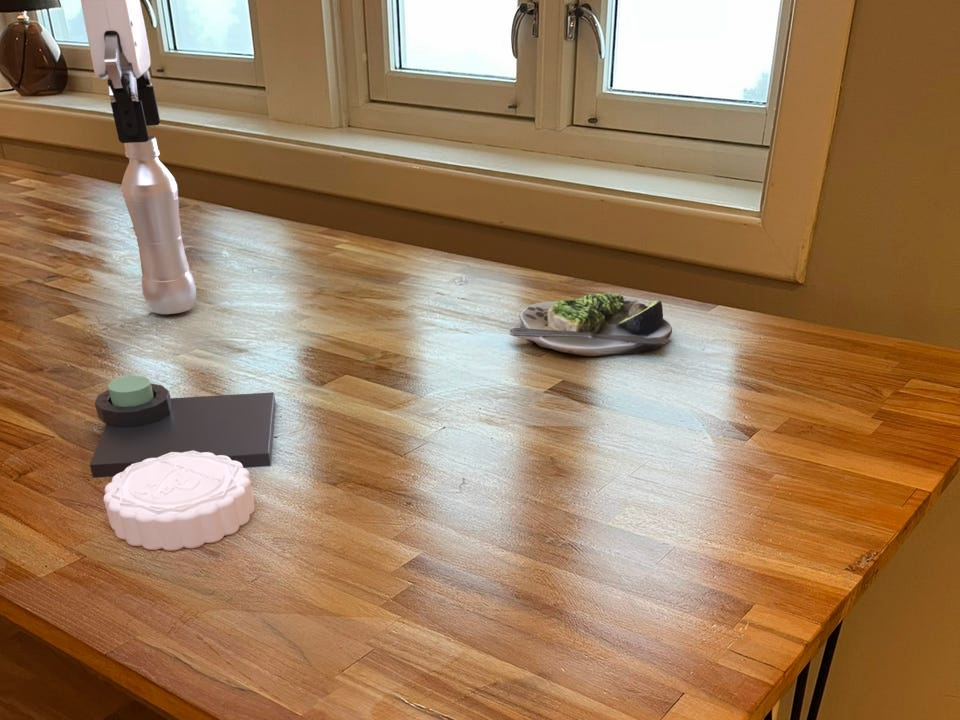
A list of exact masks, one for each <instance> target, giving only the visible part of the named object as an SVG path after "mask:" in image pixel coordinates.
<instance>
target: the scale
mask: <svg viewBox="0 0 960 720" xmlns="http://www.w3.org/2000/svg"><path fill="white" fill-rule="evenodd" d="M151 387H152V391H153V396H154V399H153V400H151V401H150V402H148V403H145V404H141V405H138V406H130V407H120V406H115V405H113V404H112V401H111V397H110V393H109V390H108V389H106V390H105V391H103V392H101V393H99V394H98V395H97V396H96V399H95V401H94V405H95V409H96V413H97V417H98V419H99V420H100V421H102V422H103V424H105V427H104V428H103V431H102V433H101V436H100V438H99V441H98V443H97V446H96V448H95V451H94V453H93V455H92V458H91V460H90V463H89V468H90V471H91V474H92V478H93V479H95V478H111V477H112V478H113V477H114V476H115V475H116V474H118V473H120V472H123V471H124V470H125V469H126V468H127V467H128V466H131V464H134V463H139V462H142V461H143V460H145V459H148V458H158V457H160V456H162V455H165V454H168V453H170V452H178V453H183V452H188V451H193V450H194V451H197V452H200V453H203V452H210V453H213V454H215V455H216V456H218V455H225V456H228V457H229V458H230V459H231V460H234V461H238V462H240V463H241V464H242V465H243V468H244V469H247V468H262V467H271V465H272V457H273V456H272V454H273V445H274V444H273V443H274V431H275V420H276V408H277V402H276V396H275V395H276V394H275V392H273V391H272V392H271V391H270V392H258V393H257V392H255V393H254V392H253V393H238V394H220V395H219V394H218V395H205V396H204V395H203V396H186V397H171V394H170V391H169V389H167V388H166V387H164V386H163V385H161V384H158V383H157V384H156V383H151Z"/></svg>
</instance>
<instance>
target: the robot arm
mask: <svg viewBox="0 0 960 720" xmlns="http://www.w3.org/2000/svg"><path fill="white" fill-rule="evenodd" d="M80 4H81V9H82V16H83V21H84V26H85V33H86V36H87V41H88V47H89V52H90V57H91V63H92V67H93V72H94V76H95V77H96V78H98V79H99V80H101V81H102V80H105V79H107V86H108V94H109V95H108V96H109V100H110V102H109V103H110V107H111V111H112V115H113V116H112V117H113V119H114V125H115V129H116V134H117V139H118V141H119V143H122V144H124V143H136V142H147V141H148V140H149V131H148V127H149V126H159V125H160V123H161V118H160V113H159V108H158V103H157V98H156V92H155V87H154V85H153V82H152V76H151V74H150V71H149V68H150V67H151V64H152V63H151V62H152V61H151V54H150V53H151V52H150V47H149V46H150V45H149V41H148V34H147V30H146V23H145V19H144V14H143V9H142V4H141V0H80Z"/></svg>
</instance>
